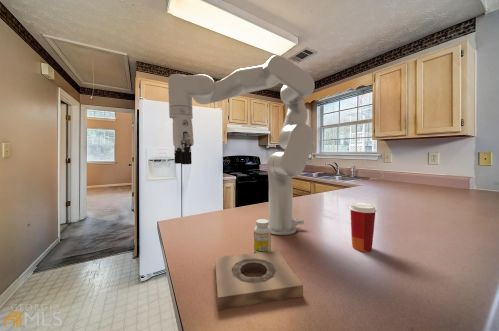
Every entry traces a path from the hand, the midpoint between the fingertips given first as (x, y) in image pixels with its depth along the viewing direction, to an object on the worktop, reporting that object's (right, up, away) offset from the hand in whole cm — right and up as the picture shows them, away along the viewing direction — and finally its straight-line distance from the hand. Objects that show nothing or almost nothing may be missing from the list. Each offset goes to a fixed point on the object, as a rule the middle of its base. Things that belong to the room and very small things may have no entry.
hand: (182, 163), depth 70 cm
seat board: (+24, -28, -20) cm, 42 cm away
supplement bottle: (+27, -28, -5) cm, 39 cm away
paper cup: (+59, -28, -4) cm, 66 cm away
